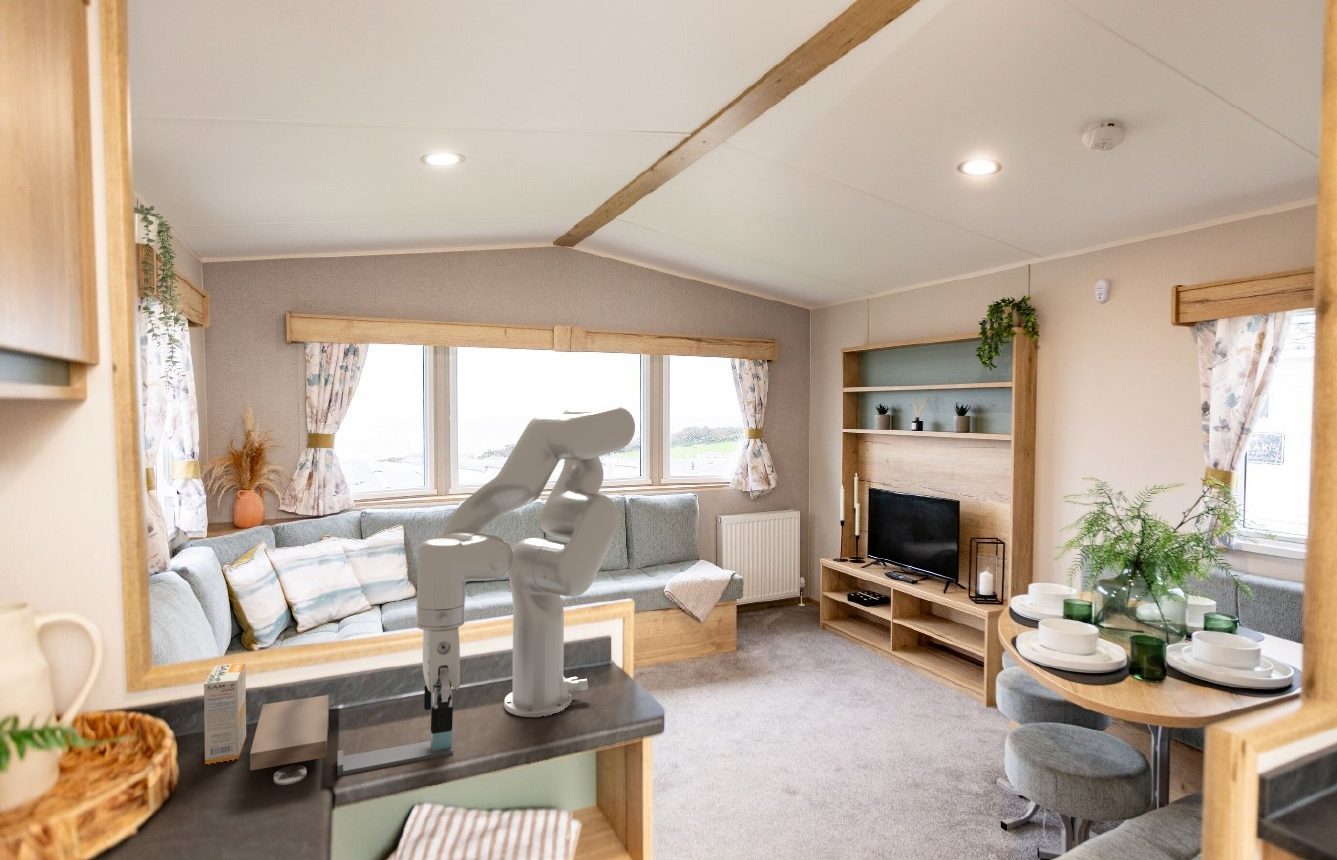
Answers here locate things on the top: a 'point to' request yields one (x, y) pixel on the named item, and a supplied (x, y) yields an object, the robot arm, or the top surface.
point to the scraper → (396, 753)
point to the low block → (291, 732)
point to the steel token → (290, 775)
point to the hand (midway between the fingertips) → (437, 719)
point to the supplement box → (225, 712)
